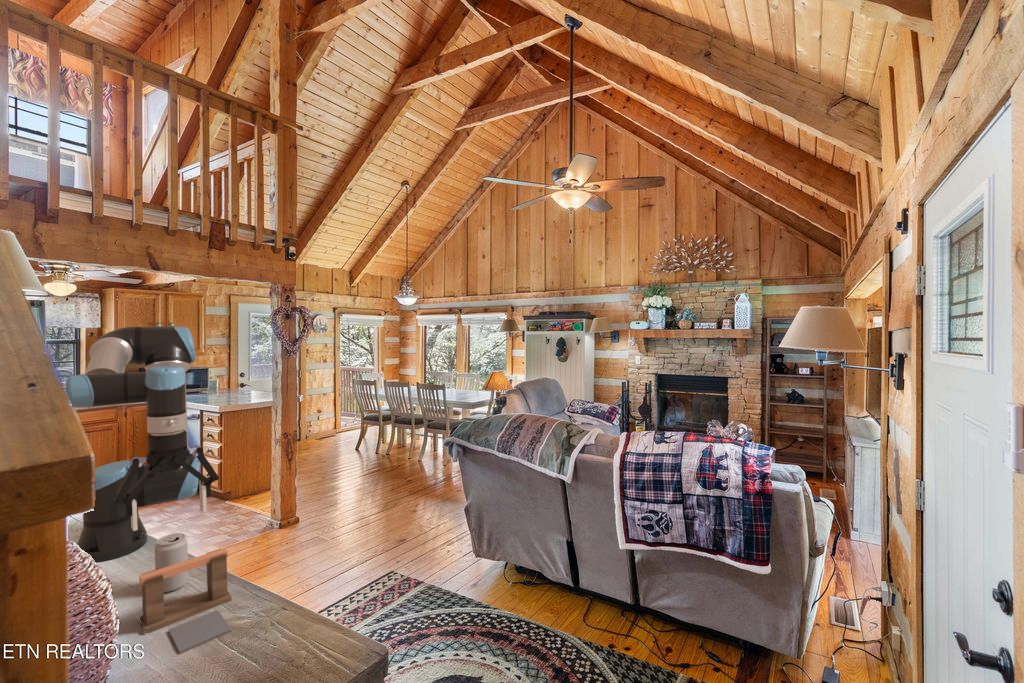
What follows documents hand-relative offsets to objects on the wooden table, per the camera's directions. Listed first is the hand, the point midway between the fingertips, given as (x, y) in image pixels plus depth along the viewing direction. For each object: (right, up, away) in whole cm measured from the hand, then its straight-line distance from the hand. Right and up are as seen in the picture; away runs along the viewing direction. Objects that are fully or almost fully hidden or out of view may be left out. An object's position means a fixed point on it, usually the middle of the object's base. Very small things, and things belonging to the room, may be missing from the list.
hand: (170, 519), depth 112 cm
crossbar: (+9, -8, -8) cm, 15 cm away
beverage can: (0, -17, +1) cm, 17 cm away
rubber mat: (+16, -18, -14) cm, 28 cm away
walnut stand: (+9, -18, -7) cm, 21 cm away
